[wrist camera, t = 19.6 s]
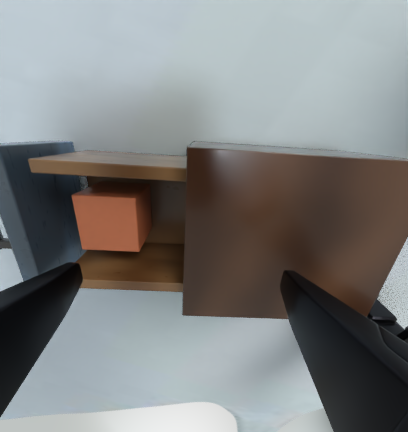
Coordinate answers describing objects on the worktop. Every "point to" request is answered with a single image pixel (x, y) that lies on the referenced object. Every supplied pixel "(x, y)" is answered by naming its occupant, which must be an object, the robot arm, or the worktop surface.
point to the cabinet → (288, 225)
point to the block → (113, 216)
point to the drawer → (66, 219)
